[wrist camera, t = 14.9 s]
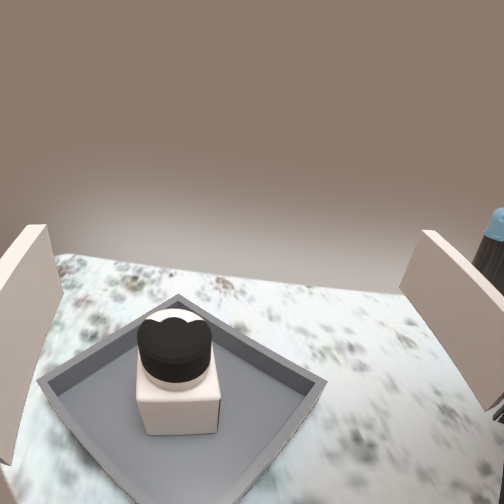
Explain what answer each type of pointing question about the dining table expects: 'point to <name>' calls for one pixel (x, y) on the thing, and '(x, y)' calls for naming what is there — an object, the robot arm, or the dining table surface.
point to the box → (183, 446)
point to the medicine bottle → (177, 374)
